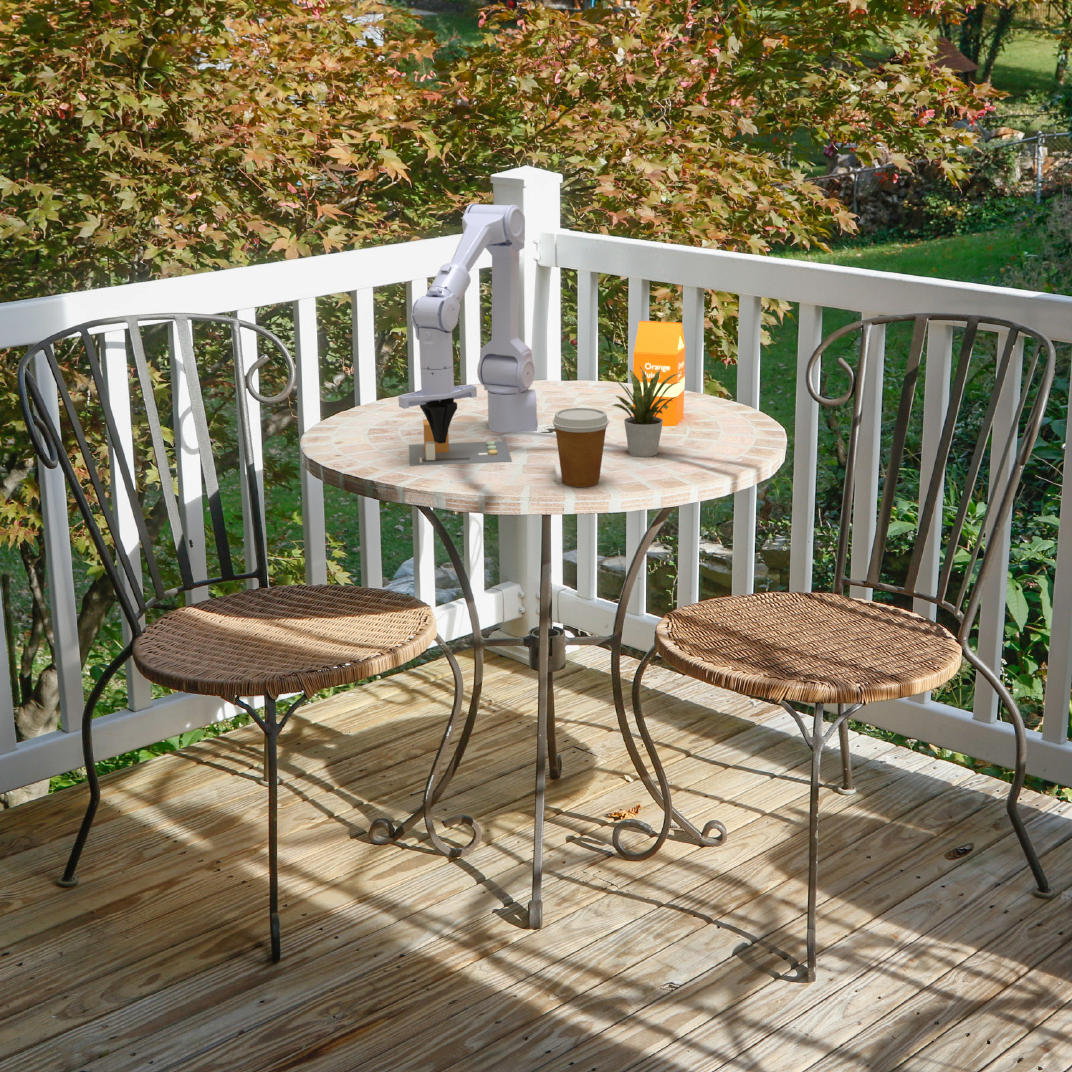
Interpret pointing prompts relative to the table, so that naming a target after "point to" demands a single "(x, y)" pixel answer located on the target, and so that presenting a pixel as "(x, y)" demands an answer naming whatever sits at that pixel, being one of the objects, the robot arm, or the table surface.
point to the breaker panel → (462, 453)
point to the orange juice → (662, 364)
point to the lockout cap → (429, 437)
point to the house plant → (644, 414)
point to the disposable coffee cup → (580, 444)
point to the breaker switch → (430, 450)
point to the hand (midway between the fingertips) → (440, 442)
